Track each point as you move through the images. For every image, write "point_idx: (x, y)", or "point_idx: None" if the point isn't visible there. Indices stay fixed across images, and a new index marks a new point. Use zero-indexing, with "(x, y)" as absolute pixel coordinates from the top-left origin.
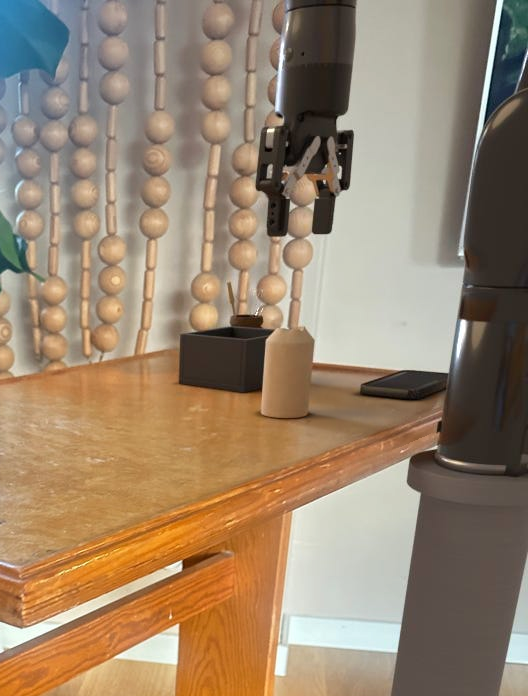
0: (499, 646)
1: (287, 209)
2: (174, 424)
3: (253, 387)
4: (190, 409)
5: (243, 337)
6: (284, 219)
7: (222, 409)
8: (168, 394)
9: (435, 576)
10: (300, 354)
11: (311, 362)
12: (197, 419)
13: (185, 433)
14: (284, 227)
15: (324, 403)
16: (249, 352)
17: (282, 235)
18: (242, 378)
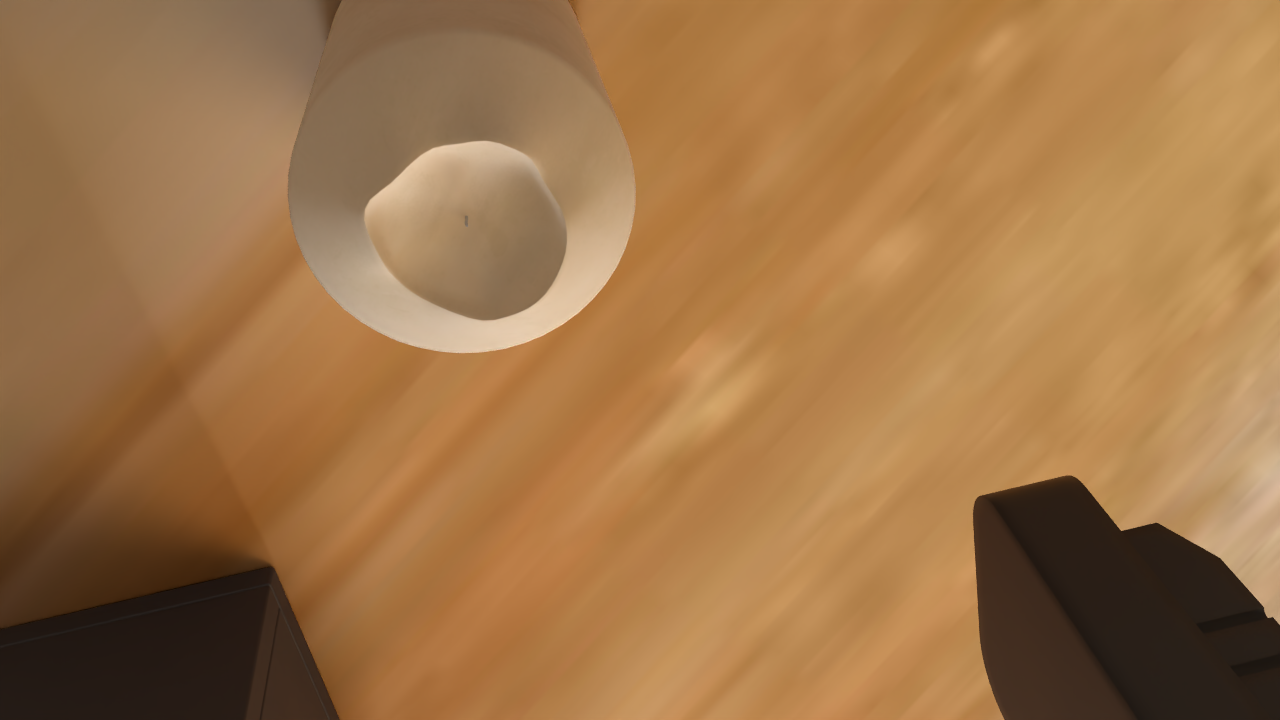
0: None
1: (1196, 717)
2: (1022, 188)
3: (197, 591)
4: (736, 401)
5: None
6: (1171, 597)
7: (623, 325)
8: (584, 691)
9: None
10: (505, 17)
11: (380, 12)
12: (871, 214)
13: (1133, 3)
14: (1111, 519)
15: (67, 150)
16: (220, 711)
17: (1056, 480)
18: (270, 621)
